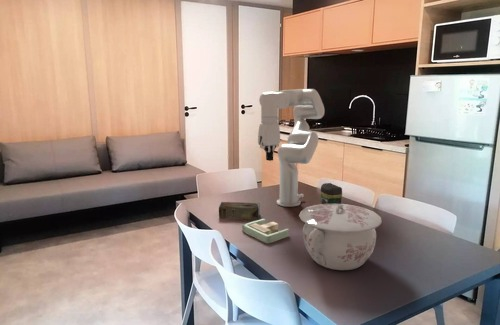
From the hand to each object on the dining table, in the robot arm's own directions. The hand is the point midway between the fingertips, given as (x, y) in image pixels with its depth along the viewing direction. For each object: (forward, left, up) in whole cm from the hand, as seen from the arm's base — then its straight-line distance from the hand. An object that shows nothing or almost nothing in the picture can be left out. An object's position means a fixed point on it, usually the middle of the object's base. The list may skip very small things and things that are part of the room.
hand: (269, 160), depth 168 cm
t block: (+15, +15, -27) cm, 35 cm away
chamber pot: (+12, +50, -27) cm, 58 cm away
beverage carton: (+12, -8, -28) cm, 31 cm away
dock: (+16, +16, -27) cm, 35 cm away
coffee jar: (-13, +26, -27) cm, 40 cm away
